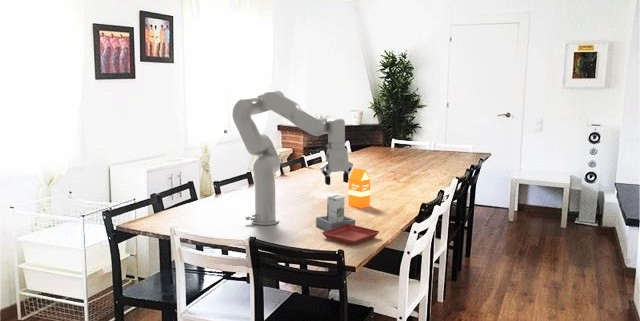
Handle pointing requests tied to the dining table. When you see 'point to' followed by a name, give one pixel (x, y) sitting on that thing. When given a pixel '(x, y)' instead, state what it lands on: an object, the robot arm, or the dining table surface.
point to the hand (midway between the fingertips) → (336, 183)
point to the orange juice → (359, 188)
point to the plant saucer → (350, 234)
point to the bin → (328, 225)
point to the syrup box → (335, 208)
